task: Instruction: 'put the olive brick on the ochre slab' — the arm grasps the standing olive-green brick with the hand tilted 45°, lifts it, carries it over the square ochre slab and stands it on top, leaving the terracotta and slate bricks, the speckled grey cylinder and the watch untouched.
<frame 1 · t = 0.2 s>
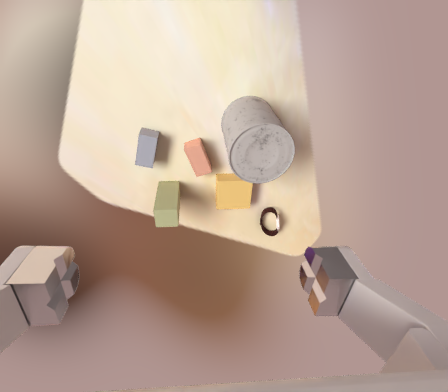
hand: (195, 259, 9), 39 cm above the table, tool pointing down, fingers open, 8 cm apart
terracotta brick: (198, 153, 50), on the table
speckled grey cylinder: (247, 122, 48), on the table
olive brick: (169, 189, 55), on the table
slate brick: (148, 144, 48), on the table
watch: (268, 217, 62), on the table
ochre slab: (232, 186, 56), on the table
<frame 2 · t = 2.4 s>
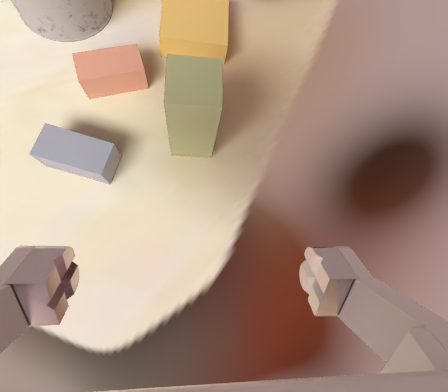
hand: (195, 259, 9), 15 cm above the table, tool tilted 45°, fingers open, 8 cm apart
terracotta brick: (116, 82, 28), on the table
speckled grey cylinder: (67, 7, 29), on the table
olive brick: (192, 138, 27), on the table
slate brick: (85, 161, 25), on the table
ochre slab: (194, 37, 31), on the table
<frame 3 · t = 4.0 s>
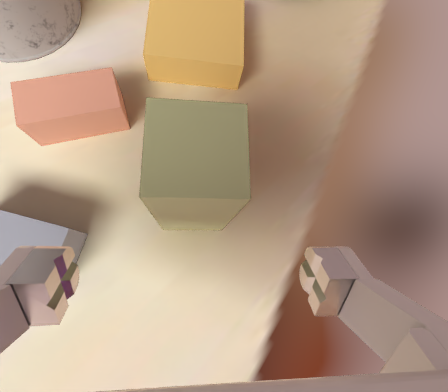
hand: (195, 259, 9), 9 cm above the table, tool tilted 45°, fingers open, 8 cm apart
terracotta brick: (84, 120, 19), on the table
speckled grey cylinder: (17, 13, 21), on the table
olive brick: (193, 201, 19), on the table
slate brick: (32, 244, 17), on the table
ochre slab: (196, 51, 22), on the table
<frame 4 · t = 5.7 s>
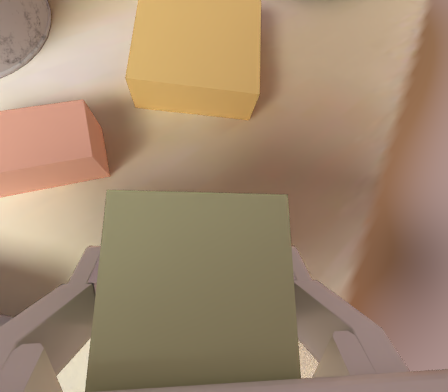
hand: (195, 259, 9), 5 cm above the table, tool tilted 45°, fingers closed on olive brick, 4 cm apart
terracotta brick: (50, 163, 15), on the table
olive brick: (193, 274, 14), on the table, touching gripper
ochre slab: (197, 70, 18), on the table
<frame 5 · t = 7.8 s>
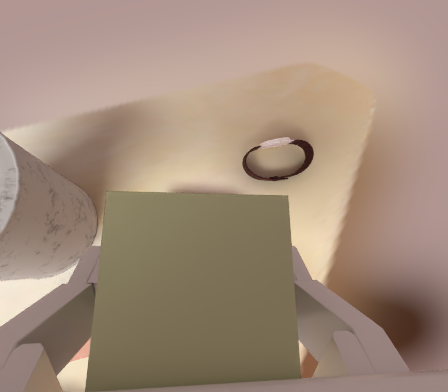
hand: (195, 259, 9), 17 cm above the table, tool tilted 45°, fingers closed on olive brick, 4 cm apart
speckled grey cylinder: (45, 226, 25), on the table
olive brick: (193, 274, 14), point 12 cm above the table, touching gripper
watch: (273, 164, 30), on the table
when the fingers open (9 cm above the table, at t = 9.9 s): olive brick drops 1 cm, resting on ochre slab.
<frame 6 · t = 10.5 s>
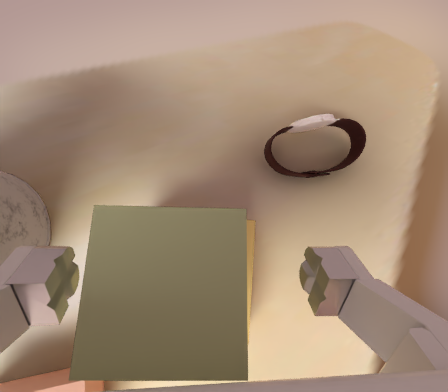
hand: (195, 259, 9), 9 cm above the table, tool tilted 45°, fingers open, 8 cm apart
olive brick: (192, 275, 15), point 3 cm above the table, touching ochre slab
watch: (305, 155, 22), on the table
ochre slab: (192, 272, 18), on the table, touching olive brick
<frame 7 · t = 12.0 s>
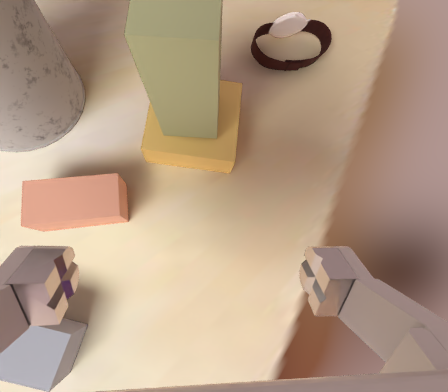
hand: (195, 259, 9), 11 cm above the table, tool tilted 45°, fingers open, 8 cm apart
terracotta brick: (87, 207, 21), on the table
speckled grey cylinder: (25, 100, 22), on the table
olive brick: (192, 113, 20), point 3 cm above the table, tilted 5°
slate brick: (36, 336, 18), on the table
watch: (285, 56, 27), on the table
ochre slab: (194, 132, 24), on the table
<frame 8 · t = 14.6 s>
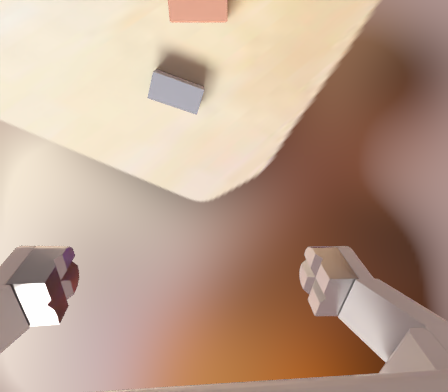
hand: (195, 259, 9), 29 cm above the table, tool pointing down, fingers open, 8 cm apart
terracotta brick: (197, 6, 30), on the table
slate brick: (177, 89, 34), on the table
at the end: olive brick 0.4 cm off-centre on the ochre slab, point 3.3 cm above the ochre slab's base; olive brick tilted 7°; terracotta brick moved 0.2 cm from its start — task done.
